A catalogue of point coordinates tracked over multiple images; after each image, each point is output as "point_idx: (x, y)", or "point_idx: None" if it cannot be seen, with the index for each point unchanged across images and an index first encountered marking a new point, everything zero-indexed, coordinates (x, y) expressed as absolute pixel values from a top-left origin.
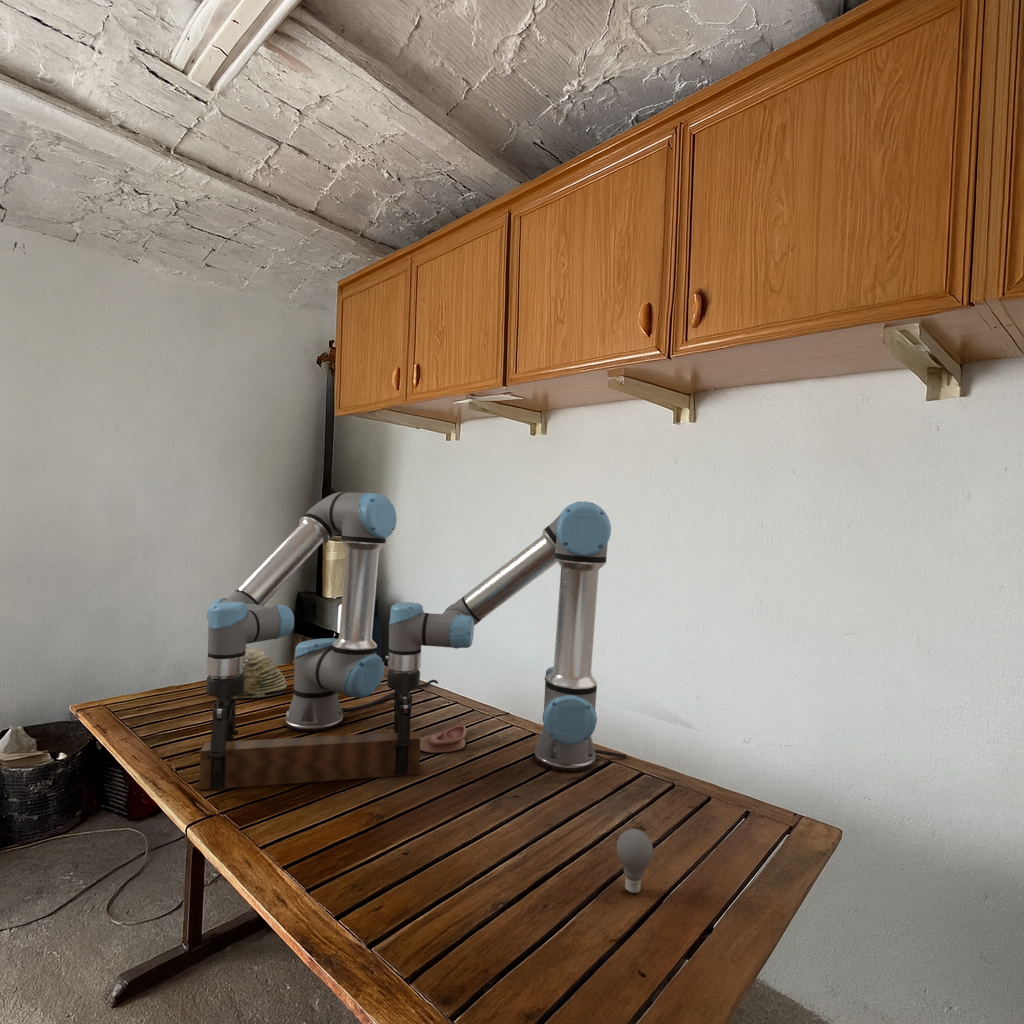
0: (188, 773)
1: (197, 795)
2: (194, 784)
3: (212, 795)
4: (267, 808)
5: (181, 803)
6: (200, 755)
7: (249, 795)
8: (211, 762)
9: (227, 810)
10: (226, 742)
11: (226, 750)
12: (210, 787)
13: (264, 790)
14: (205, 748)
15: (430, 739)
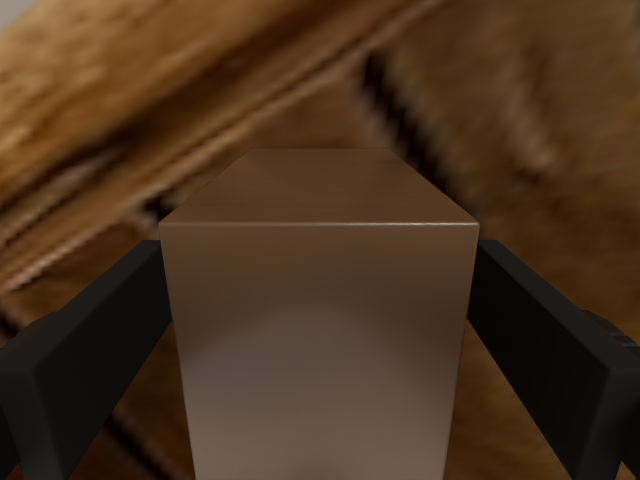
0: (537, 18)
1: (183, 152)
2: (342, 101)
3: None
4: None
5: (78, 78)
6: (178, 207)
7: (169, 394)
8: (31, 337)
9: (12, 327)
10: (414, 454)
11: (196, 471)
12: (138, 244)
13: None
14: (248, 269)
15: None
